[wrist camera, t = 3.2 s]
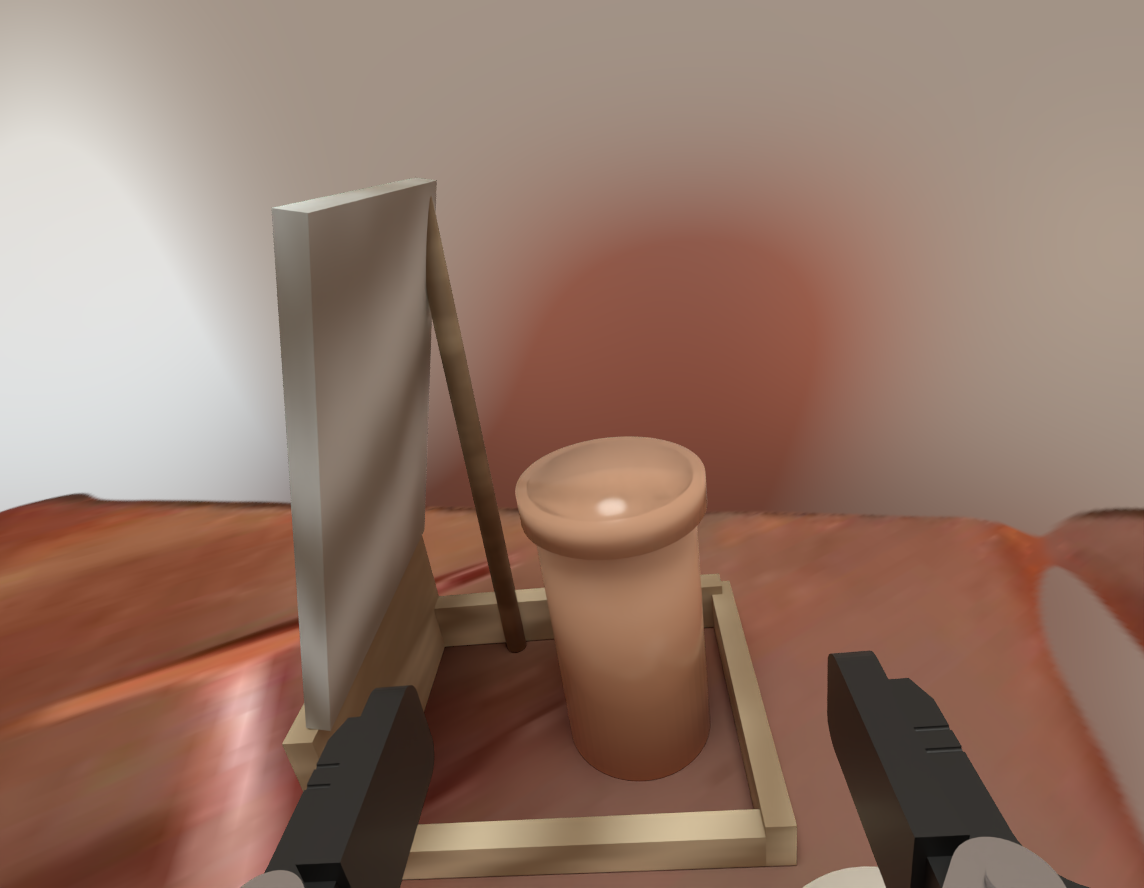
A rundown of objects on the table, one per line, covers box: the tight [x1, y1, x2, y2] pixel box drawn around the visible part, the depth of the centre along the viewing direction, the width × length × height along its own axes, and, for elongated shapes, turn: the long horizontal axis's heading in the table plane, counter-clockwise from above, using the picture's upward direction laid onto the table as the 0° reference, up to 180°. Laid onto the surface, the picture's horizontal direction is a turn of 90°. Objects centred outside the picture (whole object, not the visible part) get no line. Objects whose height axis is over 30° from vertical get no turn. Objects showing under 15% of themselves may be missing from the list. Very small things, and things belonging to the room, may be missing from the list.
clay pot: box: [515, 437, 710, 781], centre depth 26 cm, size 7×7×12 cm
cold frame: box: [272, 178, 797, 880], centre depth 24 cm, size 16×13×23 cm
